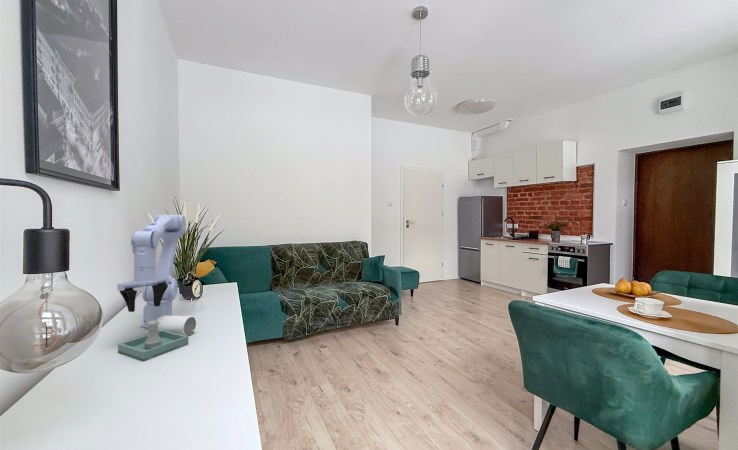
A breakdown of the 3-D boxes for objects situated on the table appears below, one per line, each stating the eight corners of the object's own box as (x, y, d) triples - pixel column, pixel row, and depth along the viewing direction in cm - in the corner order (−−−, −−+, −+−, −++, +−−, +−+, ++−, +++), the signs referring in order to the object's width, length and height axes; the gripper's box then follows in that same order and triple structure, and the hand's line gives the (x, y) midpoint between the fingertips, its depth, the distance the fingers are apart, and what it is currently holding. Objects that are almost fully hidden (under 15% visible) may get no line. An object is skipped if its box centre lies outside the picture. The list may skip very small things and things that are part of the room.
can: (183, 319, 101) (150, 318, 102) (183, 338, 101) (150, 337, 102) (196, 313, 107) (165, 313, 108) (196, 331, 107) (165, 330, 108)
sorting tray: (117, 352, 90) (117, 344, 90) (163, 337, 102) (163, 330, 102) (143, 361, 84) (143, 352, 84) (188, 344, 96) (188, 336, 96)
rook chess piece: (152, 350, 90) (152, 323, 90) (140, 348, 91) (140, 322, 91) (165, 344, 95) (165, 318, 95) (153, 342, 96) (153, 317, 96)
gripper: (126, 270, 91) (126, 315, 91) (174, 265, 104) (174, 304, 104) (113, 269, 94) (113, 313, 94) (162, 264, 107) (161, 302, 107)
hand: (144, 308), depth 99 cm, fingers open, 7 cm apart
